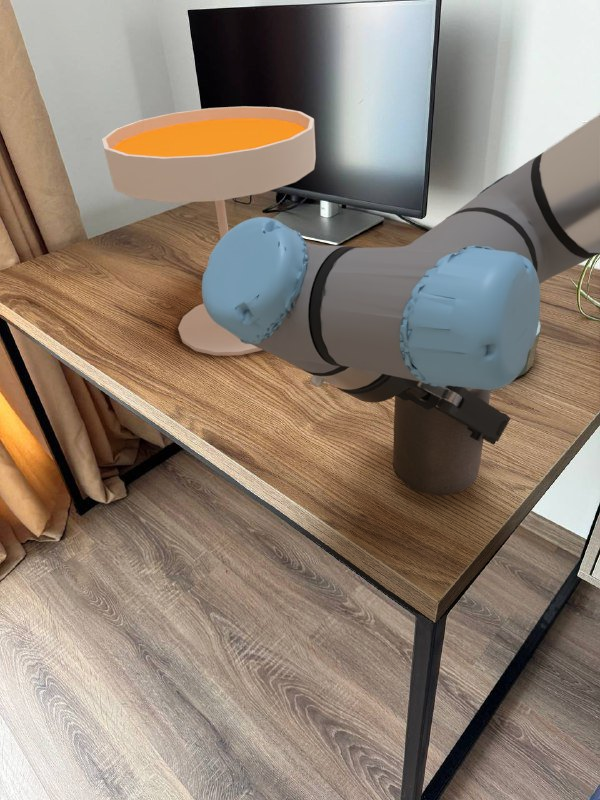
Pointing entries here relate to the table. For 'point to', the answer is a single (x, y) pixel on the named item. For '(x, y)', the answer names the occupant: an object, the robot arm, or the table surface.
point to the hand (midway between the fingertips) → (455, 412)
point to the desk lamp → (211, 174)
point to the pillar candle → (434, 448)
